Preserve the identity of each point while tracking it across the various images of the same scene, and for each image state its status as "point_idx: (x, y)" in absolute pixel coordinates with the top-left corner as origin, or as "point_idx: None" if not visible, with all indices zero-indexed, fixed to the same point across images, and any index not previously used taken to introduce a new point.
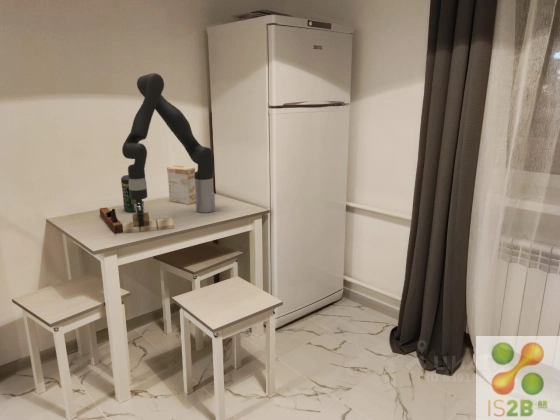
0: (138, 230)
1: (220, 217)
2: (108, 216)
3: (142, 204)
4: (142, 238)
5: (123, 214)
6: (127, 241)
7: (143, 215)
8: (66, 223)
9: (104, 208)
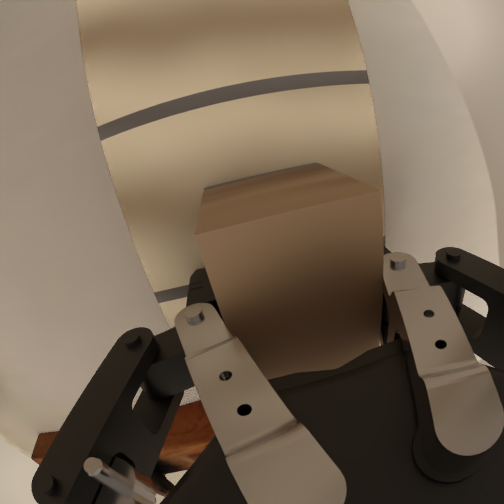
0: None
1: None
2: (170, 469)
3: (483, 415)
4: (488, 189)
5: (9, 390)
6: (493, 261)
7: (382, 270)
8: None
9: None
